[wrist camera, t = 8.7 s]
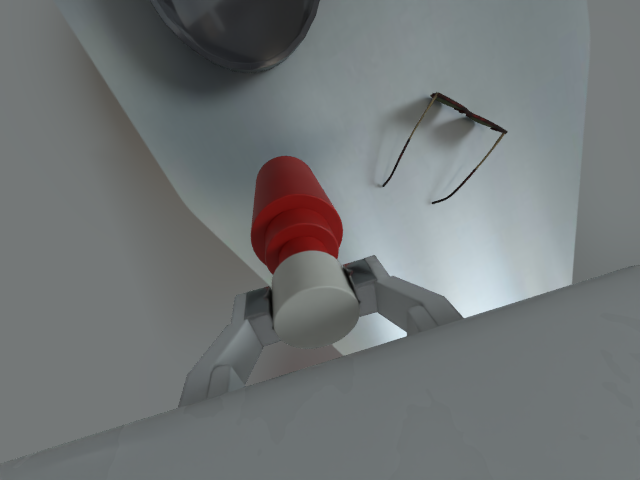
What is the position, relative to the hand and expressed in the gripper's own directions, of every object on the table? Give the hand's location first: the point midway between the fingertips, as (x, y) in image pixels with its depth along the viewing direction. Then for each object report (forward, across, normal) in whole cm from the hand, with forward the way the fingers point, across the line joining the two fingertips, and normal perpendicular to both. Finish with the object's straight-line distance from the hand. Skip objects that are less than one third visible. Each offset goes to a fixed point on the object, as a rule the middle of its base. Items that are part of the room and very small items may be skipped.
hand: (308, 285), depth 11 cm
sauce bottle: (+14, 0, 0) cm, 14 cm away
